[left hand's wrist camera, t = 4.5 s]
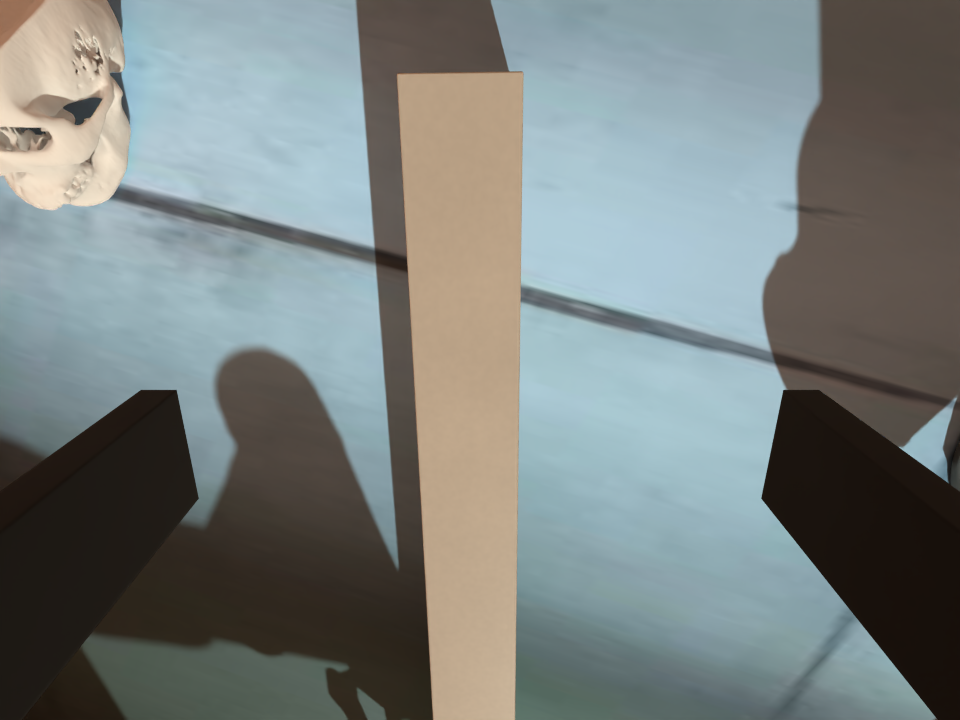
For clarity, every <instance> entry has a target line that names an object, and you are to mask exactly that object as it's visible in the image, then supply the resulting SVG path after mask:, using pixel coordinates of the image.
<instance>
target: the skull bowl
mask: <svg viewBox="0 0 960 720" xmlns="http://www.w3.org/2000/svg"><path fill="white" fill-rule="evenodd" d="M98 51H99V52H98ZM97 52H98V53H97ZM124 67H125V54H124V43H123V38H122V34H121V29H120V26H119V24H118V21H117V19H116V17H115V15H114V13H113V11H112V9H111V7H110V5H109V3H108V1H107V0H0V176H2V175H4V177H5V179H6V181H7V183H8V184H9V186H10V187H11V188H12V190H13V191H14V192H15V193H16V194H17V195H18V196H19V197H20V198H22V199H23V200H24V201H25V202H27V203H29V204H32V205H33V206H35V207H37V208H40V209H47V210H56V209H57V208H58V207H62V205H63V204H71V205H75V206H93V205H97V204H101V203H103V202H105V201H107V200H108V199H109V198H110V197H111V196H112V195H113V194H114V192H115V191H116V189H117V188H118V186H119V184H120V182H121V180H122V178H123V177H124V174H125V172H126V169H127V164H128V150H129V143H130V135H131V128H130V124H129V121H128V119H127V116H126V114H125V112H124V110H123V108H122V105H121V98H122V95H123V92H122V90H121V89H120V87H119V86H118V84H117V83H116V81H115V80H114V79H113V78H112V77H111V76H110V73H112V72H115V73H119V72H122V71H123V70H124ZM93 97H97V98H101V99H102V101H101V103H100V104H99V106H98V107H97V109H96V110H95V112H94V114H93V115H92V117H91V118H90V119H89V118H85V119H84V123H83V124H81V125H75V117H74V115H73V114H72V113H70V112H69V111H66V110H65V109H63V107H64V106H65V105H67V104H69V103H73V102H76V101H80V100H85V99H87V98H93ZM19 127H27V128H40V127H42V128H41V131H45V132H46V134H42V135H35V133H34V132H33V131H32V130H28V129H27V130H25V131H24V133H22V131H21V130H20V128H19Z"/></svg>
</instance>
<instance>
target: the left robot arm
mask: <svg viewBox="0 0 960 720" xmlns="http://www.w3.org/2000/svg"><path fill="white" fill-rule="evenodd" d="M950 477H951V485H950V484H949V483H947V482H946V481H944V480H943V479H942V478H940V477H939V476H938V475H936V474H935V473H933V472H932V471H931V470H929V469H928V468H926V467H925V466H924V465H922V464H921V463H919V462H918V461H917V460H915V459H914V458H913V457H911V456H910V455H908V454H907V453H906V452H904V451H903V450H901V449H900V448H899V447H897V446H896V445H894V444H893V443H892V442H890V441H889V440H888V439H886V438H885V437H883V436H882V435H881V434H879V433H878V432H876V431H875V430H874V429H872V428H871V427H870V426H868V425H867V424H865V423H864V422H863V421H861V420H860V419H858V418H857V417H856V416H854V415H853V414H851V413H850V412H849V411H847V410H846V409H845V408H843V407H842V406H840V405H839V404H838V403H836V402H835V401H833V400H832V399H831V398H829V397H828V396H826V395H825V394H824V393H822V392H821V391H820V390H783V395H782V400H781V405H780V410H779V414H778V419H777V424H776V429H775V434H774V439H773V444H772V449H771V454H770V459H769V464H768V468H767V473H766V478H765V483H764V488H763V493H762V498H761V499H762V500H763V501H764V502H765V504H766V505H767V506H768V507H769V509H770V510H771V511H772V512H773V514H774V515H775V516H776V517H777V519H778V520H779V521H780V523H781V524H782V525H783V526H784V528H785V529H786V530H787V531H788V533H789V534H790V535H791V536H792V538H793V539H794V540H795V541H796V543H797V544H798V545H799V546H800V548H801V549H802V550H803V551H804V553H805V554H806V555H807V556H808V558H809V559H810V560H811V561H812V563H813V564H814V565H815V566H816V568H817V569H818V570H819V571H820V573H821V574H822V575H823V576H824V578H825V579H826V580H827V581H828V583H829V584H830V585H831V586H832V588H833V589H834V590H835V591H836V593H837V594H838V595H839V596H840V598H841V599H842V600H843V601H844V603H845V604H846V605H847V606H848V608H849V609H850V610H851V611H852V613H853V614H854V615H855V616H856V618H857V619H858V620H859V622H860V623H861V624H862V625H863V627H864V628H865V629H866V630H867V632H868V633H869V634H870V635H871V637H872V638H873V639H874V640H875V642H876V643H877V644H878V645H879V647H880V648H881V649H882V650H883V652H884V653H885V654H886V655H887V657H888V658H889V659H890V660H891V662H892V663H893V664H894V665H895V667H896V668H897V669H898V670H899V672H900V673H901V674H902V675H903V677H904V678H905V679H906V680H907V682H908V683H909V684H910V685H911V687H912V688H913V689H914V690H915V692H916V693H917V694H918V695H919V697H920V698H921V699H922V700H923V702H924V703H925V704H926V705H927V707H928V708H929V709H930V710H931V712H932V713H933V714H934V716H935V717H936V718H937V719H938V720H960V441H959V443H958V445H957V448H956V450H955V454H954V457H953V461H952V466H951V476H950ZM198 499H199V498H198V493H197V488H196V483H195V478H194V473H193V468H192V464H191V459H190V454H189V449H188V444H187V439H186V434H185V429H184V424H183V419H182V414H181V410H180V405H179V400H178V395H177V390H140V391H139V392H138V393H136V394H135V395H134V396H132V397H131V398H129V399H128V400H127V401H125V402H124V403H122V404H121V405H120V406H118V407H117V408H115V409H114V410H113V411H111V412H110V413H109V414H107V415H106V416H104V417H103V418H102V419H100V420H99V421H97V422H96V423H95V424H93V425H92V426H90V427H89V428H88V429H86V430H85V431H84V432H82V433H81V434H79V435H78V436H77V437H75V438H74V439H72V440H71V441H70V442H68V443H67V444H66V445H64V446H63V447H61V448H60V449H59V450H57V451H56V452H54V453H53V454H52V455H50V456H49V457H47V458H46V459H45V460H43V461H42V462H41V463H39V464H38V465H36V466H35V467H34V468H32V469H31V470H29V471H28V472H27V473H25V474H24V475H22V476H21V477H20V478H18V479H17V480H16V481H14V482H13V483H11V484H10V485H9V486H7V487H6V488H4V489H3V490H2V491H0V720H22V719H23V718H24V717H25V716H26V714H27V713H28V712H29V710H30V709H31V708H32V707H33V705H34V704H35V703H36V702H37V700H38V699H39V698H40V697H41V695H42V694H43V693H44V692H45V690H46V689H47V688H48V687H49V685H50V684H51V683H52V682H53V680H54V679H55V678H56V677H57V675H58V674H59V673H60V672H61V670H62V669H63V668H64V667H65V665H66V664H67V663H68V662H69V660H70V659H71V658H72V657H73V655H74V654H75V653H76V652H77V650H78V649H79V648H80V647H81V645H82V644H83V643H84V642H85V640H86V639H87V638H88V637H89V635H90V634H91V633H92V632H93V630H94V629H95V628H96V627H97V625H98V624H99V623H100V622H101V620H102V619H103V618H104V616H105V615H106V614H107V613H108V611H109V610H110V609H111V608H112V606H113V605H114V604H115V603H116V601H117V600H118V599H119V598H120V596H121V595H122V594H123V593H124V591H125V590H126V589H127V588H128V586H129V585H130V584H131V583H132V581H133V580H134V579H135V578H136V576H137V575H138V574H139V573H140V571H141V570H142V569H143V568H144V566H145V565H146V564H147V563H148V561H149V560H150V559H151V558H152V556H153V555H154V554H155V553H156V551H157V550H158V549H159V548H160V546H161V545H162V544H163V543H164V541H165V540H166V539H167V538H168V536H169V535H170V534H171V533H172V531H173V530H174V529H175V528H176V526H177V525H178V524H179V523H180V521H181V520H182V519H183V517H184V516H185V515H186V514H187V512H188V511H189V510H190V509H191V507H192V506H193V505H194V504H195V502H196V501H197V500H198Z"/></svg>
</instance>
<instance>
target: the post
mask: <svg viewBox="0 0 960 720" xmlns="http://www.w3.org/2000/svg"><path fill="white" fill-rule="evenodd" d="M397 89H398V107H399V124H400V142H401V160H402V177H403V195H404V213H405V231H406V248H407V266H408V284H409V302H410V319H411V337H412V355H413V372H414V390H415V408H416V426H417V443H418V461H419V479H420V496H421V514H422V532H423V550H424V567H425V585H426V603H427V621H428V638H429V656H430V674H431V691H432V709H433V720H515V675H516V598H517V521H518V445H519V368H520V291H521V215H522V138H523V72H522V71H519V72H447V73H398V74H397Z"/></svg>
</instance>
